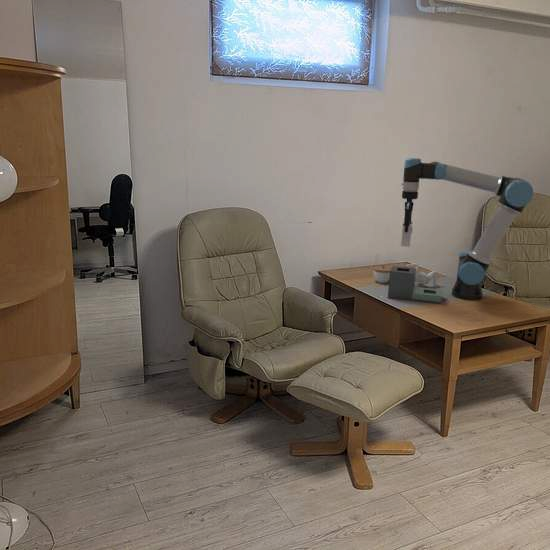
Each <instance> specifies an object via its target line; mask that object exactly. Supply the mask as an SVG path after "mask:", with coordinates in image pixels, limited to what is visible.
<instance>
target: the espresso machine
mask: <svg viewBox="0 0 550 550" xmlns="http://www.w3.org/2000/svg"><path fill="white" fill-rule="evenodd" d="M390 268H391V270H390V276H389V281H388V289H387V290H388V291H387V299H393V300H394V299H395V300H403V301H410V302H419V303H420V302H421V303H426V304H434V305H435V304H438V305H442V301H443V292H444V290H443V289H437V288H436V289H435V288H428V287H420V286H416V282H415V279H416V268H415V267H410V266H408V267H407V266H397V265H392V266H391V267H390Z"/></svg>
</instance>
